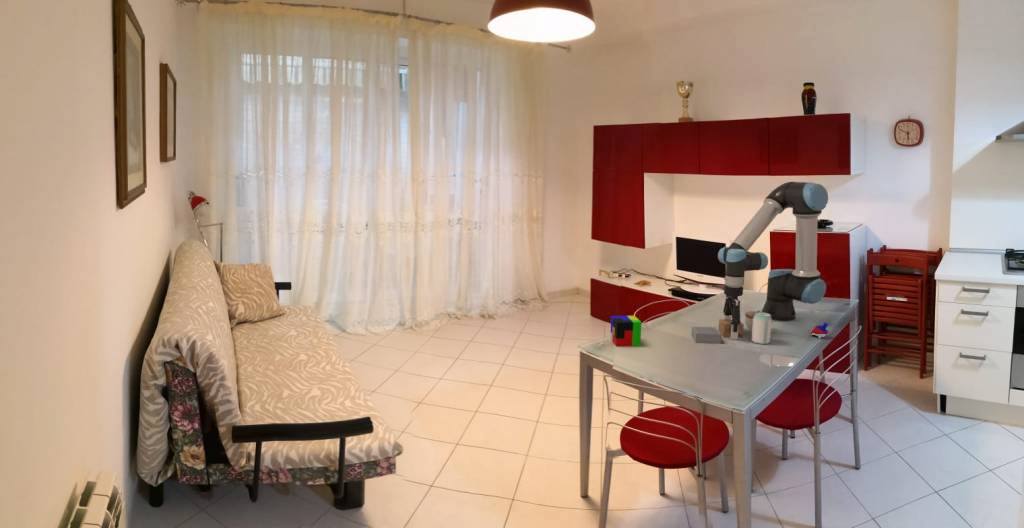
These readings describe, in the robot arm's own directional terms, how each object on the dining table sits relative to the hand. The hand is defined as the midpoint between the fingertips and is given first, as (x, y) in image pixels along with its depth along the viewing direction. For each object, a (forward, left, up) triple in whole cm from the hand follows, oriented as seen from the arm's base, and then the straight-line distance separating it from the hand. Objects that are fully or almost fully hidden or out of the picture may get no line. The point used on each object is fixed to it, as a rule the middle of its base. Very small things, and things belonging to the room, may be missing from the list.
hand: (730, 334), depth 269 cm
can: (-10, +9, 0) cm, 14 cm away
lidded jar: (-13, -7, 0) cm, 15 cm away
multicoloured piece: (-37, -1, 0) cm, 37 cm away
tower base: (+12, +8, 0) cm, 14 cm away
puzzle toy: (+46, +16, -1) cm, 49 cm away
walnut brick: (0, 0, 0) cm, 0 cm away
